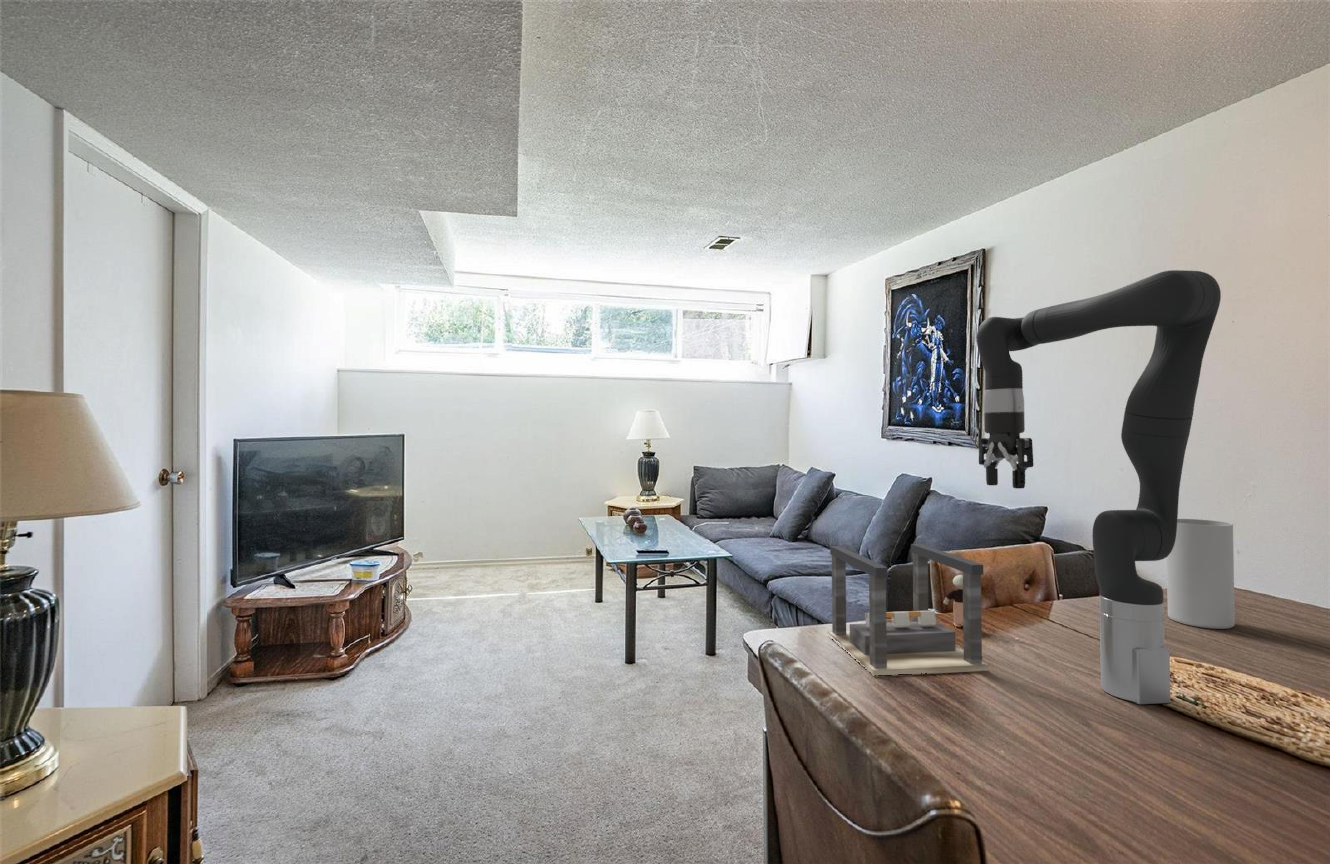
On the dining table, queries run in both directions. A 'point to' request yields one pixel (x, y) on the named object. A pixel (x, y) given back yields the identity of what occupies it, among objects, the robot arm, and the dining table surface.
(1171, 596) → the cylinder vase
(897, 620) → the breaker paddles
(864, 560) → the bar
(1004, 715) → the dining table surface
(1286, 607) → the dining table surface
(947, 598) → the grandmother figurine
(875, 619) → the stand
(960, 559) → the bar
